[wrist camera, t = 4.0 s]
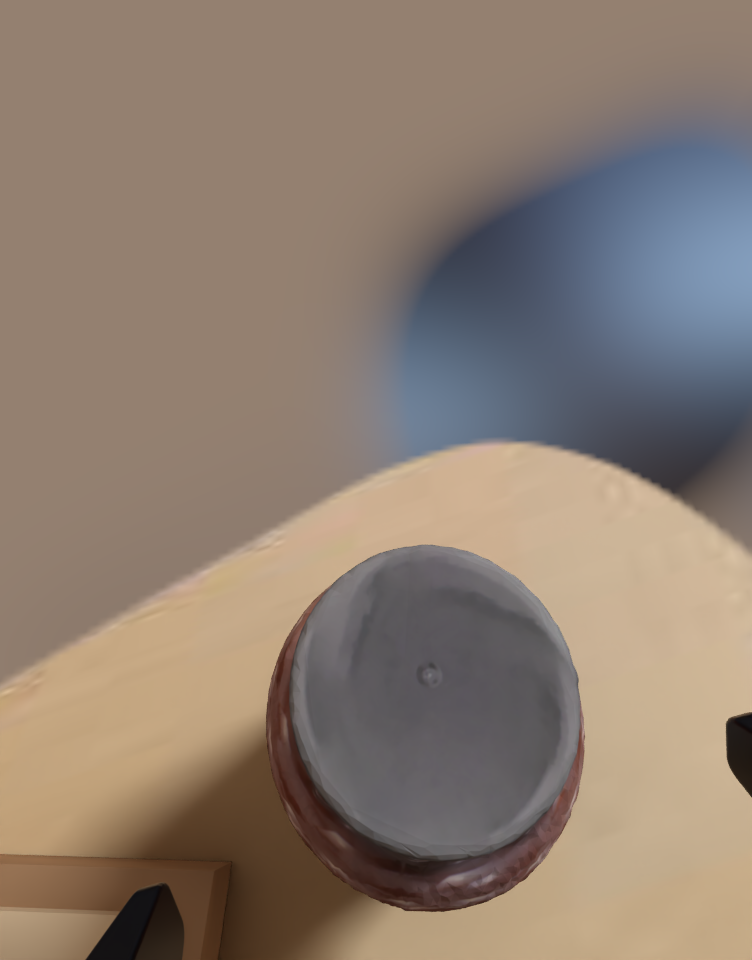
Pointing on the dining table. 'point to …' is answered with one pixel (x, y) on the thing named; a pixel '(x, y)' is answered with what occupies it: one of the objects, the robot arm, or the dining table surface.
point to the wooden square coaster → (101, 902)
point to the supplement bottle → (427, 729)
